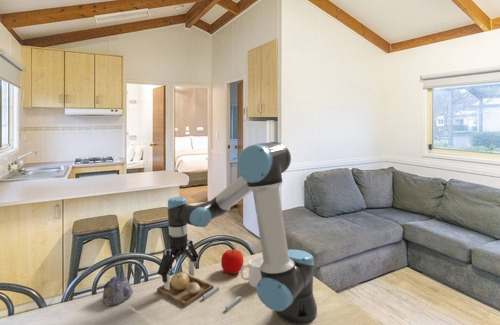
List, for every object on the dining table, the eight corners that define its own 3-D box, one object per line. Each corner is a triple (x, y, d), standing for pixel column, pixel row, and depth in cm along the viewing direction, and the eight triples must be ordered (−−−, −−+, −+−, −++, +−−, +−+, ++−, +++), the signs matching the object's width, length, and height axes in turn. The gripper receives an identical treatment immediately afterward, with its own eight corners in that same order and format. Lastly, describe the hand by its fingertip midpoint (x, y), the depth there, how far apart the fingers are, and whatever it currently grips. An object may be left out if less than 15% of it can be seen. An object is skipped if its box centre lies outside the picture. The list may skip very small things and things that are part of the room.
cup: (268, 289, 128) (268, 266, 126) (240, 288, 128) (240, 266, 126) (267, 278, 136) (267, 257, 134) (241, 278, 136) (240, 257, 135)
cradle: (241, 301, 119) (241, 296, 118) (227, 312, 112) (227, 307, 112) (217, 290, 126) (216, 286, 126) (202, 300, 120) (202, 295, 119)
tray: (213, 289, 127) (213, 285, 127) (185, 308, 115) (185, 303, 114) (185, 277, 137) (185, 273, 137) (157, 292, 125) (157, 288, 125)
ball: (202, 293, 124) (202, 282, 123) (193, 299, 120) (193, 287, 119) (194, 289, 126) (193, 278, 126) (185, 295, 122) (184, 283, 122)
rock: (120, 281, 129) (121, 268, 123) (135, 298, 125) (136, 285, 119) (96, 298, 121) (95, 284, 115) (110, 316, 117) (111, 302, 111)
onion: (167, 287, 128) (166, 271, 127) (183, 280, 134) (183, 265, 133) (176, 295, 123) (175, 279, 122) (193, 287, 128) (192, 272, 127)
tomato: (220, 267, 147) (220, 246, 145) (241, 265, 148) (241, 244, 147) (222, 278, 136) (222, 256, 135) (245, 276, 138) (245, 254, 137)
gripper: (193, 224, 137) (195, 267, 140) (146, 241, 117) (149, 291, 120) (205, 227, 132) (206, 272, 135) (158, 246, 112) (161, 298, 115)
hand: (179, 281), depth 128 cm, fingers open, 13 cm apart
